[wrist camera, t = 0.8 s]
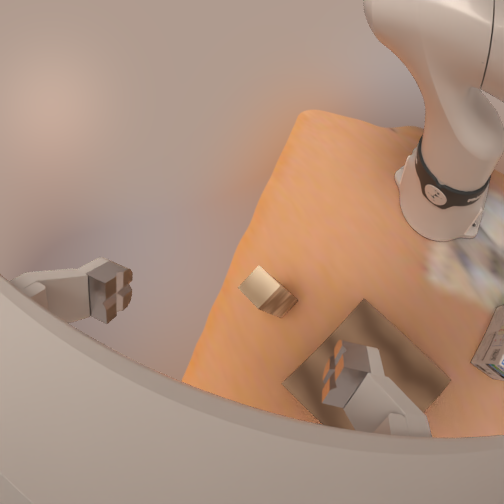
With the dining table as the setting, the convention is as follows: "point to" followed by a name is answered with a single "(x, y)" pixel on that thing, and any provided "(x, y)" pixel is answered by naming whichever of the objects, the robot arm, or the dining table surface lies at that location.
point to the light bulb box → (492, 348)
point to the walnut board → (392, 357)
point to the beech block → (267, 293)
